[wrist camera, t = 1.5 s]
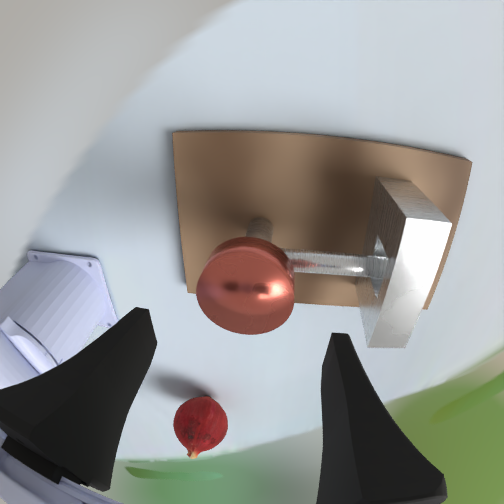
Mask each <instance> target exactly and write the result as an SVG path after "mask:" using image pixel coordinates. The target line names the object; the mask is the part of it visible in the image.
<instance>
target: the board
mask: <svg viewBox="0 0 504 504" xmlns="http://www.w3.org/2000/svg"><path fill="white" fill-rule="evenodd" d="M172 136H173V153H174V168H175V181H176V193H177V204H178V215H179V225H180V234H181V243H182V252H183V260H184V269H185V276H186V284H187V291H188V293H194V294H196V287H197V283H198V280H199V278H200V275H201V273H202V271H203V269H204V267H205V264H206V262H207V260H208V258H209V256H210V254H211V253H212V251H213V250H214V249H215V248H216V247H217V246H219V245H220V244H221V243H223V242H225V241H227V240H230V239H233V238H237V237H245V235H246V232H247V229H248V225H249V223H250V222H251V221H252V220H253V219H255V218H259V217H262V218H266V219H268V220H269V221H270V222H271V223H272V225H273V236H272V243H273V244H274V245H276V246H277V247H279V248H287V249H300V250H313V251H326V252H339V253H351V254H362V251H363V246H364V241H365V236H366V231H367V226H368V220H369V215H370V209H371V204H372V198H373V191H374V185H375V179H376V176H378V177H386V178H393V179H400V180H407V181H412V182H413V183H414V184H415V185H416V186H417V187H418V188H419V189H420V190H421V191H422V192H423V193H424V194H425V195H426V196H427V197H428V198H429V199H430V200H431V201H432V202H433V204H434V205H435V206H436V207H437V208H438V209H439V210H440V211H441V212H442V213H443V214H444V215H445V216H446V218H447V219H448V220H449V221H450V222H451V223H452V225H451V228H450V232H449V235H448V238H447V242H446V245H445V248H444V251H443V254H442V257H441V260H440V263H439V266H438V269H437V272H436V275H435V277H434V280H433V283H432V286H431V288H430V291H429V293H428V296H427V298H426V301H425V303H424V306H423V308H422V309H428V307H429V304H430V302H431V299H432V297H433V294H434V292H435V289H436V287H437V284H438V281H439V279H440V276H441V273H442V271H443V268H444V265H445V262H446V259H447V256H448V253H449V250H450V247H451V244H452V241H453V238H454V234H455V231H456V228H457V224H458V221H459V217H460V213H461V210H462V206H463V202H464V198H465V194H466V190H467V185H468V181H469V176H470V172H471V167H472V162H471V161H470V160H468V159H465V158H461V157H457V156H452V155H448V154H443V153H439V152H434V151H429V150H424V149H419V148H413V147H408V146H402V145H396V144H390V143H383V142H377V141H370V140H362V139H354V138H346V137H337V136H327V135H316V134H304V133H290V132H272V131H243V130H195V131H176V132H174V133H172ZM294 273H295V287H294V303H304V304H318V305H334V306H351V307H359V302H358V297H357V293H356V288H355V282H356V278H357V276H347V275H332V274H319V273H305V272H294Z"/></svg>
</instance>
